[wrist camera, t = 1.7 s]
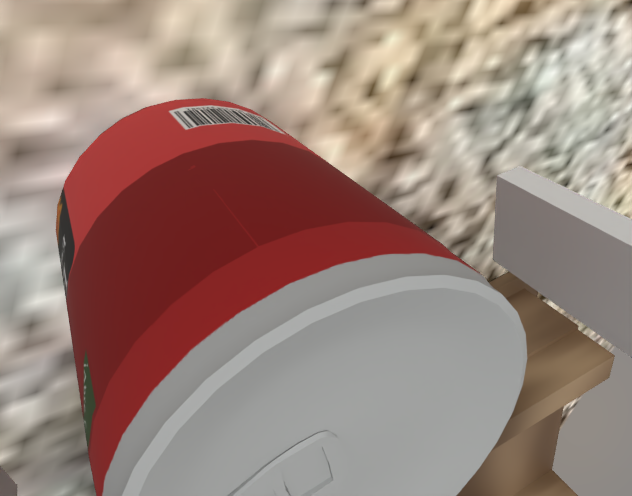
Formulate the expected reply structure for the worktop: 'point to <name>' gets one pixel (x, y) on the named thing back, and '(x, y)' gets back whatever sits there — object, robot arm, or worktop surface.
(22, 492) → the worktop surface
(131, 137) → the canned food
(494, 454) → the brown square tray
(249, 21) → the worktop surface
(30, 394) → the worktop surface
